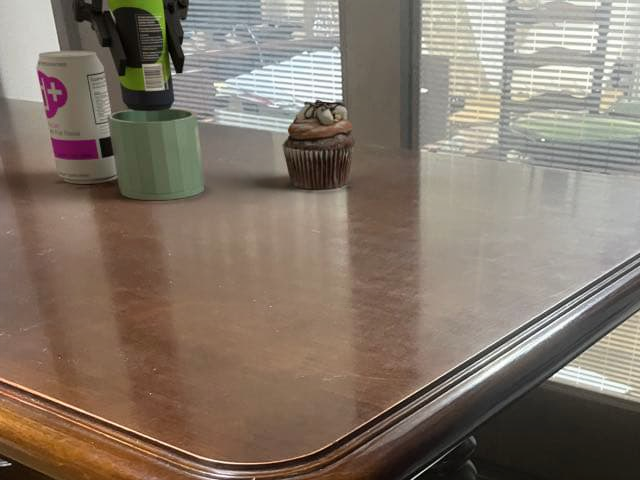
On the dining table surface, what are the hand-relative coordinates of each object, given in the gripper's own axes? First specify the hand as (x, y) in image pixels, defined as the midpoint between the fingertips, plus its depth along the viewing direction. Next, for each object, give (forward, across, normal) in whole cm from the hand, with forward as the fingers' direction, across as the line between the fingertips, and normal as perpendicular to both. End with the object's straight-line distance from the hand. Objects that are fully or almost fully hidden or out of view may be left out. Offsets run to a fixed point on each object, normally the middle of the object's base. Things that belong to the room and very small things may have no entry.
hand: (151, 66), depth 104 cm
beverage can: (+1, 0, +6) cm, 6 cm away
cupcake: (+12, +20, +9) cm, 25 cm away
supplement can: (0, -7, +21) cm, 22 cm away
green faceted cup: (+8, 0, +13) cm, 15 cm away
